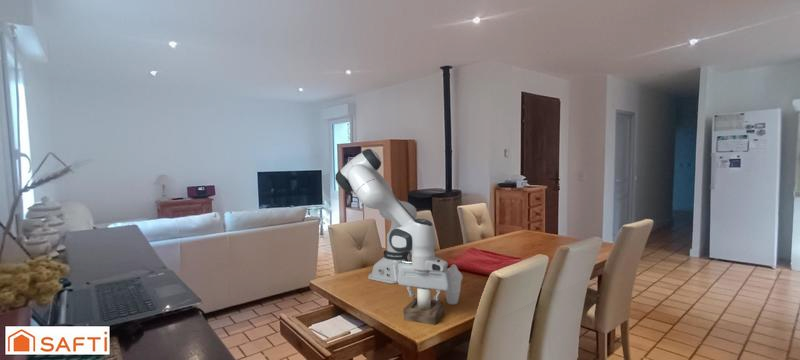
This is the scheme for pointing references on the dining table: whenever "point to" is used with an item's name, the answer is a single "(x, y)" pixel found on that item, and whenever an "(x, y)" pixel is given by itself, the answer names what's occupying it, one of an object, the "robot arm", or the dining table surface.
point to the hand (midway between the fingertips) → (423, 298)
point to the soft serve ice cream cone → (454, 285)
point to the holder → (424, 312)
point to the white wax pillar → (423, 298)
